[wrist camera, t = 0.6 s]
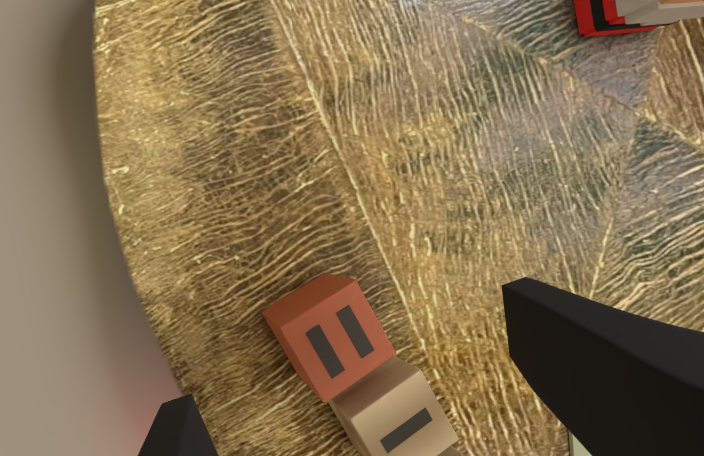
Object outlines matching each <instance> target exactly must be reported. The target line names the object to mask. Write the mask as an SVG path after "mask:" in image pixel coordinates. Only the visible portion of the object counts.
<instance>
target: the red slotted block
mask: <svg viewBox="0 0 704 456" xmlns="http://www.w3.org/2000/svg"><path fill="white" fill-rule="evenodd" d="M262 314H263V316H264V318H265V320H266V321H267V323H268V325H269V326H270V328H271V330H272V331H273V333H274V335H275V337H276V338H277V340H278V342H279V343H280V345H281V347H282V348H283V350H284V352H285V354H286V355H287V357H288V359H289V360H290V362H291V364H292V365H293V367H294V369H295V371H296V372H297V374H298V375H299V376H300V377H301V379H302V380H303V381H304V382H305V383H306V384H307V385H308V386H309V388H310V389H311V390H312V391H313V392H314V393H315V394H316V395H317V396H318V398H319V399H320V400H321V401H322V402H323V403H326V402H328V401H329V400H331V399H332V398H334V397H335V396H337V395H338V394H339V393H341V392H342V391H344V390H345V389H347V388H348V387H350V386H351V385H352V384H354V383H355V382H357V381H358V380H360V379H361V378H363V377H364V376H365V375H367V374H368V373H370V372H371V371H373V370H374V369H376V368H377V367H378V366H380V365H381V364H383V363H384V362H386V361H387V360H389V359H390V358H392V357H393V356H394V355H396V352H395V350H394V348H393V346H392V344H391V343H390V341H389V339H388V337H387V335H386V334H385V332H384V330H383V328H382V326H381V325H380V323H379V321H378V319H377V317H376V316H375V314H374V312H373V310H372V308H371V307H370V305H369V303H368V301H367V299H366V298H365V296H364V294H363V292H362V290H361V289H360V287H359V285H358V283H357V281H356V280H352V279H348V278H344V277H340V276H335V275H331V274H327V273H323V274H322V275H320V276H319V277H317V278H315V279H314V280H312V281H311V282H309V283H307V284H306V285H304V286H302V287H301V288H299V289H298V290H296V291H294V292H293V293H291V294H289V295H288V296H286V297H285V298H283V299H281V300H280V301H278V302H276V303H275V304H273V305H272V306H270V307H268V308H267V309H265V310H263V311H262Z"/></svg>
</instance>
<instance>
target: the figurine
mask: <svg viewBox="0 0 704 456" xmlns="http://www.w3.org/2000/svg"><path fill="white" fill-rule="evenodd" d="M574 4H575V11H576V17H577V23H578V30H579V34H584V37H589V36H599V35H610V34H620V33H630V32H641V31H650V30H652V29H654V28H657V27H659V26H665V25H670V24H673V23H675V22H677V21H680V19H691V18H702V17H704V0H574Z"/></svg>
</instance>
